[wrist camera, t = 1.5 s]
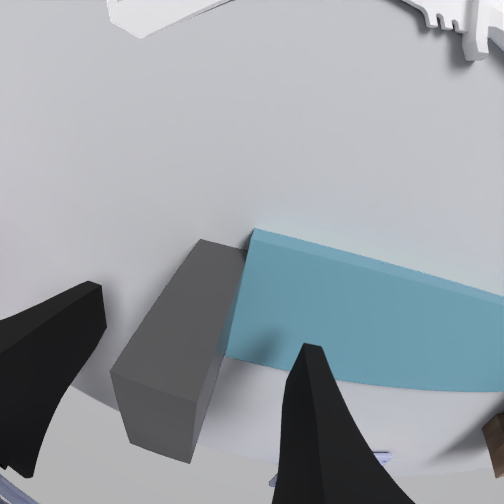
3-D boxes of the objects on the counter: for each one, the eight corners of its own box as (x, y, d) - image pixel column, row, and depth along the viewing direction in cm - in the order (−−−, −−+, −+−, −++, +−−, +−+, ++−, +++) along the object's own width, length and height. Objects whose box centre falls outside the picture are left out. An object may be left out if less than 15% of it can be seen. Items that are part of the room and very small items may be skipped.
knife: (5, 79, 9) (41, -48, 5) (27, 77, 10) (60, -42, 7) (582, 243, 7) (613, 110, 3) (565, 230, 8) (595, 105, 5)
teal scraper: (517, 381, 13) (547, 453, 7) (189, 330, 14) (133, 453, 8) (563, 315, 10) (610, 386, 4) (203, 215, 11) (103, 340, 5)
